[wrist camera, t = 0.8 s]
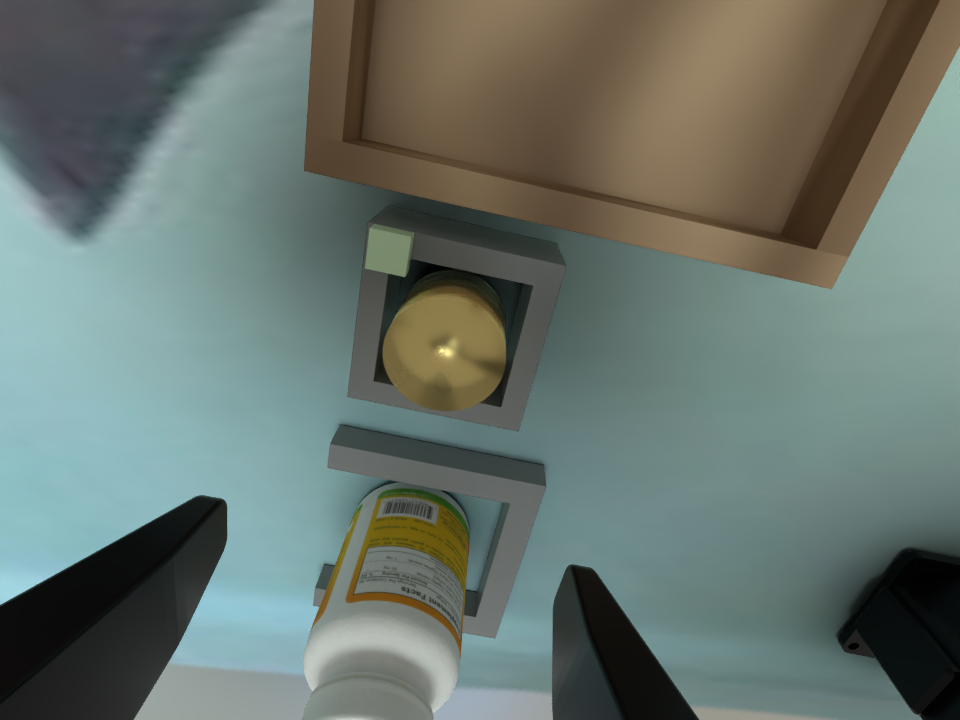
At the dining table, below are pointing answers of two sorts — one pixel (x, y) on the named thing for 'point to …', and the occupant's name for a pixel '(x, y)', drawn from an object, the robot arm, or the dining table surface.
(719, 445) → the dining table surface
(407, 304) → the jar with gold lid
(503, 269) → the grey angular frames
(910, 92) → the brown wooden tray
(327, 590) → the supplement bottle
